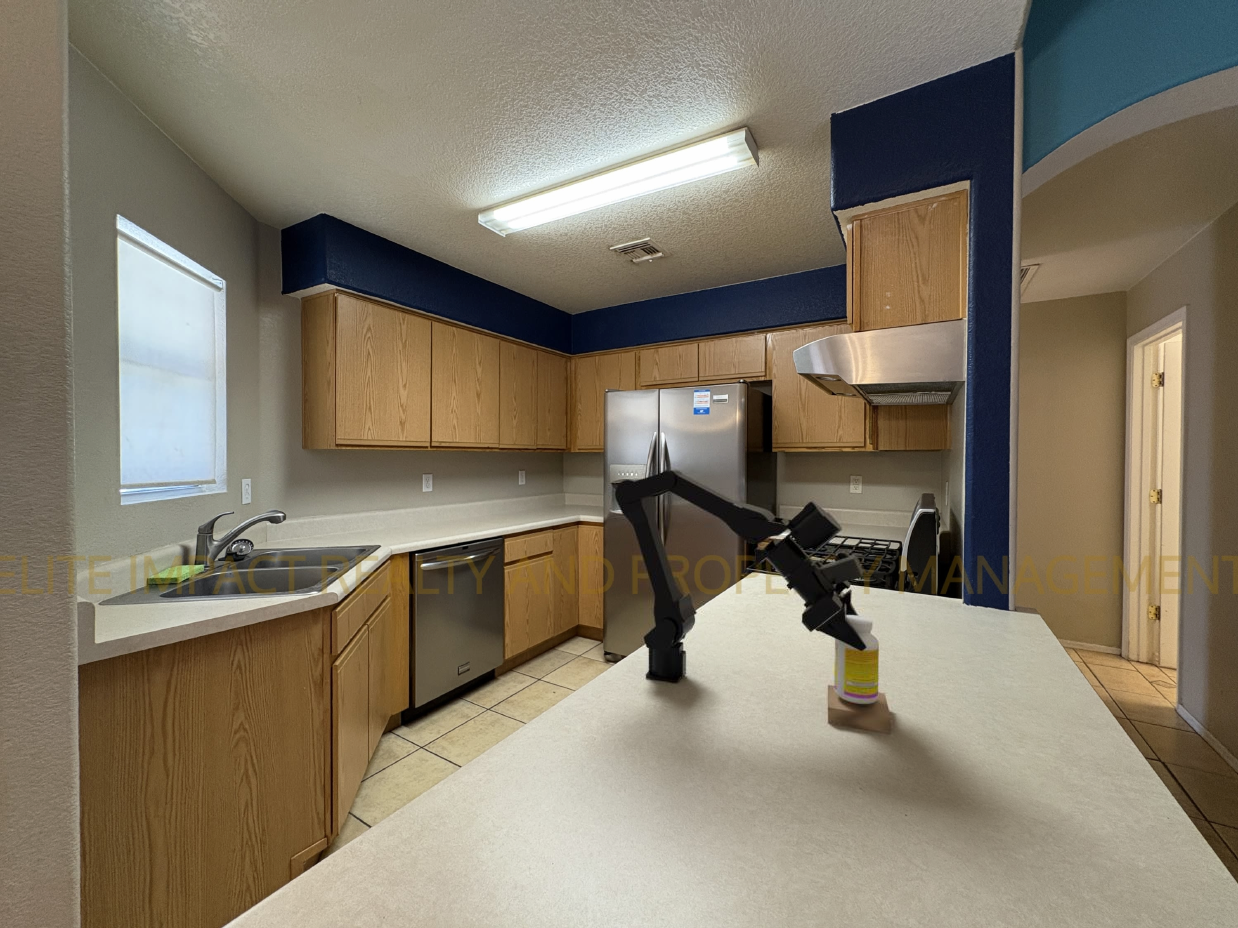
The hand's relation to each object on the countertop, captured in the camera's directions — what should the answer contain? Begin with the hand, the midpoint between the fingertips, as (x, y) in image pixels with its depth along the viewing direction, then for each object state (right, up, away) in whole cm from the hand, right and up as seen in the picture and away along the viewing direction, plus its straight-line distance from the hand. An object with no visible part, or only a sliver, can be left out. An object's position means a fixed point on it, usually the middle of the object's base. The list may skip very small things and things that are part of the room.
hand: (865, 642), depth 86 cm
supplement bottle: (-1, -9, +1) cm, 10 cm away
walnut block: (-1, -12, +1) cm, 12 cm away
